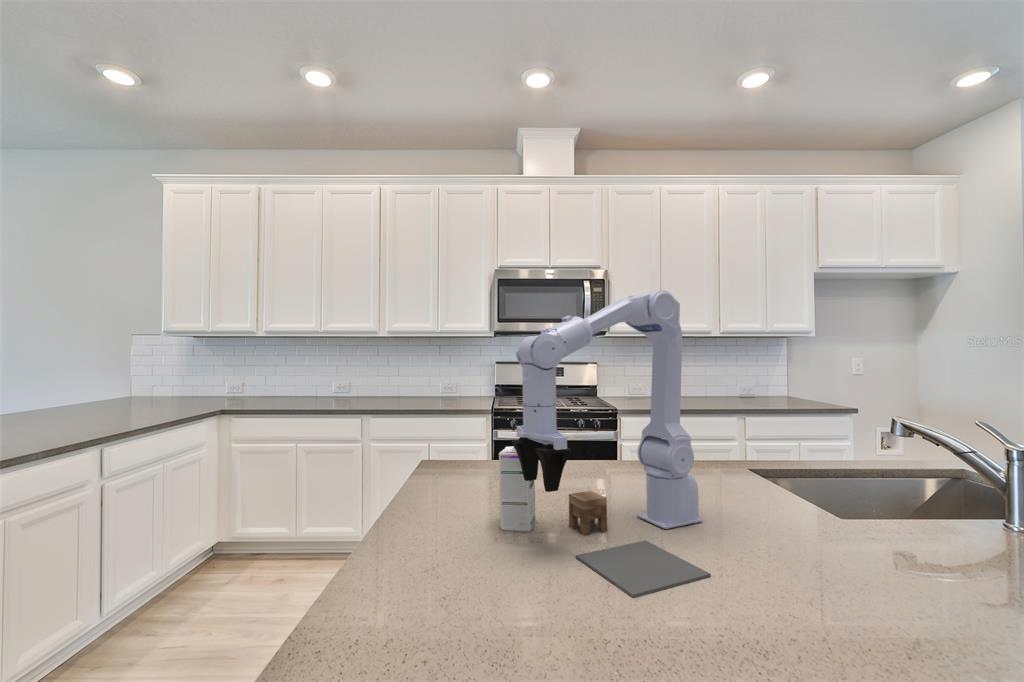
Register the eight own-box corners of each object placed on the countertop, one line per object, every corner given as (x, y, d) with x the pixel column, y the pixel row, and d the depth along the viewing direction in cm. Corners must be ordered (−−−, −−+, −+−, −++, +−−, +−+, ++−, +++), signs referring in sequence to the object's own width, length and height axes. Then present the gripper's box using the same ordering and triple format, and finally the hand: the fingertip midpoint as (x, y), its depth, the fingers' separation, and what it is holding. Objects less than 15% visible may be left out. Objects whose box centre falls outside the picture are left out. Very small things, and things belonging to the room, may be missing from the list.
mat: (645, 542, 82) (645, 540, 82) (710, 576, 69) (710, 573, 69) (575, 557, 76) (575, 555, 76) (632, 597, 64) (632, 594, 64)
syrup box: (530, 532, 87) (530, 452, 88) (499, 530, 89) (498, 451, 89) (535, 521, 93) (534, 446, 93) (505, 520, 94) (505, 445, 95)
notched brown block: (591, 522, 92) (591, 490, 93) (607, 530, 88) (606, 497, 88) (569, 526, 90) (568, 494, 90) (584, 535, 86) (583, 501, 86)
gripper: (501, 402, 87) (502, 478, 87) (538, 410, 74) (540, 499, 74) (535, 400, 90) (536, 473, 90) (577, 408, 77) (579, 493, 77)
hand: (540, 485), depth 82 cm, fingers open, 7 cm apart
